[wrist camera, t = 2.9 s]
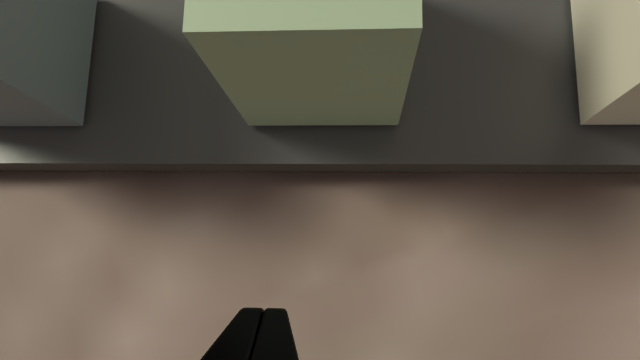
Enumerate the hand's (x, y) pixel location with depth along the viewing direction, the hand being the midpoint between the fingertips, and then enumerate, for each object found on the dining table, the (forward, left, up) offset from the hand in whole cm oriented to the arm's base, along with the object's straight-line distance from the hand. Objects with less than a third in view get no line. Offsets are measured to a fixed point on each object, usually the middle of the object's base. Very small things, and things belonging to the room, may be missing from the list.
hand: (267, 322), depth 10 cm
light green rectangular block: (+9, -4, -10) cm, 14 cm away
